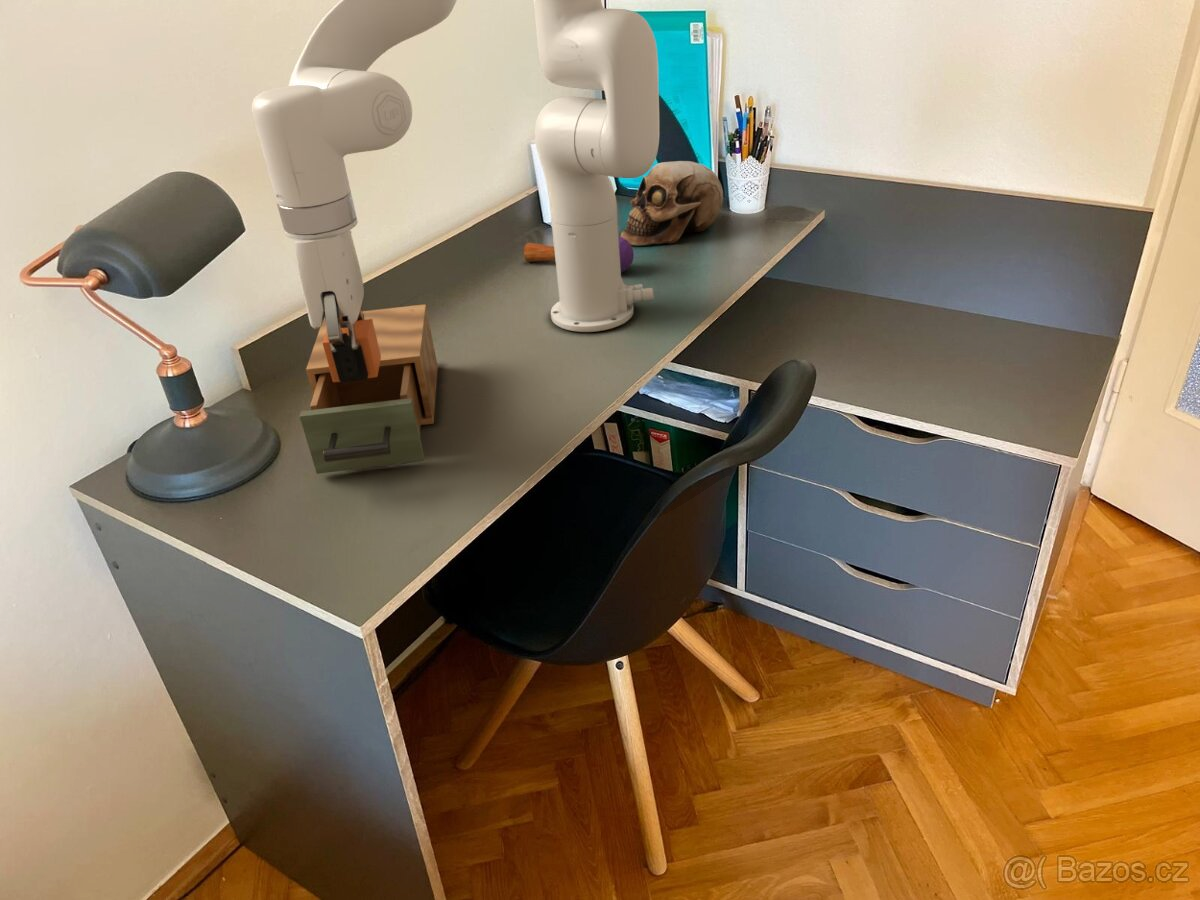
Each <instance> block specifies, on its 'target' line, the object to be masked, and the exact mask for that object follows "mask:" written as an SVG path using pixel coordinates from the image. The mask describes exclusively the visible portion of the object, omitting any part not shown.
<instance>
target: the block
mask: <svg viewBox="0 0 1200 900" xmlns="http://www.w3.org/2000/svg"><path fill="white" fill-rule="evenodd" d="M354 326H355V332H356V337H357V342H358V346H360V345H361V347H362V351H363V355H364V359H365V363H366V367H367V371H368V378H373V377H377V376H378V370H379V365H380V360H381V355H380V350H379V346H378V342H377V337H376V333H375V329H374V325H373V320H372V319H367V320H358V321H356V322H355V323H354ZM341 330H342V332H343V333H347V335H349V331H348V328H341ZM323 347H324V351H325V354H326V358H327V362H328V365H329V369H330V373H331V376H332V380H333V382H340V380H339V377H338V374H337V370H336V366H335V362H334V359H333V355H332V351H331V346H330V342H329V340H328V336H327V331H326V334H325V337H324V340H323Z"/></svg>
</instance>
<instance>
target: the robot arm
mask: <svg viewBox="0 0 1200 900" xmlns="http://www.w3.org/2000/svg"><path fill="white" fill-rule="evenodd" d="M456 3H457V0H339V1H338V2H337V3H336V4H335V5H334V6H333V7H332V8H331V9H330V10H329V11H328V12H327V13H326V14H325V15H324V16H323V18H321V20H320V21H319V22H318V24H317V25H316V26H315V28H314V30H313V31H312V33H311V34H310V35H309V37H308V40H307V42H306V43H305V46H304V47H303V49H302V51H301V53H300V55H299V57H298V60H297V62H296V63H295V65H294V69H293V71H292V72H291V75H290V78H289V82H288V84H287V85H284V86H278V87H274V88H270V89H267V90H264V91H262V92H260V93H259V94H257V95H256V96H255V97H254V98H253V100H252V103H251V115H252V119H253V123H254V126H255V127H254V128H255V130H256V133H257V137H258V141H259V144H260V148H261V151H262V155H263V160H264V162H265V167H266V169H267V174H268V177H269V180H270V181H269V182H270V184H271V188H272V191H273V195H274V198H275V202H276V205H277V209H278V213H279V217H280V220H281V224H282V227H283V231H284V234H285V237H287V238H290V239H292V240H293V247H294V254H295V260H296V261H295V262H296V266H297V272H298V276H299V282H300V285H301V291H302V295H303V299H304V303H305V304H304V305H305V309H306V311H307V316H308V320H309V325H310V327H311V328H312V329H313V330H320V327H321V326H322V323H323V320H324V317H325V321H326V326H327V336H328V340H329V342H330V346H331V351H332V355H333V359H334V362H335V366H336V370H337V374H338V377H339V380H340V381H341V382H349V381H357V380H365V379H367V378H368V371H367V367H366V363H365V359H364V355H363V351H362V347H361V345H360V346H358V342H357V337H356V332H355V326H354V323H355V322H356V321H358V320H365V318H364V314H363V311H364V310H363V307H362V304H363V301H364V295H365V289H364V281H363V276H362V271H361V266H360V262H359V257H358V253H357V250H356V246H355V243H354V239H353V235H352V231H351V230H352V229H353V228H355V227H356V226H357V225H358V223H359V221H358V217H357V212H356V208H355V205H354V200H353V194H352V191H351V187H350V182H349V177H348V173H347V169H346V164H345V160H344V157H345V156H347V155H351V154H352V155H353V154H359V153H365V152H366V153H367V152H373V151H379V150H384V149H386V148H389V147H392V146H393V145H395V144H396V143H399V141H400V140H401V139H402V138H404V136H405V135H406V133H408V131H409V130H410V129H409V128H410V126H411V123H412V119H413V107H412V102H411V99H410V96H409V94H408V92H407V91H406V90H405V88H404V86H402V85H401V84H400V83H399V82H398V81H397V80H396V79H394V78H392V77H390V76H388V75H385V74H383V73H380V72H376V71H368V70H369V68H370V67H371V66H372V65H373V64H374V63H375V62H376V61H377V60H378V59H379V58H380V57H381V56H382V55H383V54H385V53H386V52H388V50H390V49H392V48H393V47H394V46H397V45H399V44H401V43H402V42H405V41H407V40H409V39H411V38H413V37H416V36H418V35H421V34H423V33H425V32H428V30H430V29H432V28H434V27H436V26H438V25H439V24H440V23H442V22H444V20H446V19H447V18H449V16H450V14H451V13H452V11H453V9H454V7H455V5H456ZM533 8H534V9H533V11H534V18H535V21H534V22H535V31H536V32H535V33H536V41H537V50H538V51H537V52H538V57H539V64H540V68H541V71H542V74H543V76H544V77H545V78H546V80H548V81H549V82H550V83H552V84H553V85H556V86H559V87H565V88H571V89H572V88H573V89H580V90H590V91H591V90H592V91H604V97H605V99H602V98H597V97H595V98H594V97H585V96H564V97H563V96H562V97H558V98H554V99H553V100H550V101H549V102H548V103H547V104H545V105H544V106H543V108H541V110H540V112H539V113H538V115H537V118H536V121H535V126H534V141H535V147H536V151H537V155H538V158H539V161H540V164H541V167H542V172H543V173H544V179H545V182H546V188H547V194H548V201H549V210H550V221H551V230H552V240H553V247H554V251H555V269H556V279H557V280H556V281H557V288H558V289H557V290H558V298H559V300H558V301H557V302H556V303H555V304H554V305H553V306H552V307H551V309H550V318H551V321H552V323H553V324H554V325H556V326H557V327H559V328H561V329H563V330H566V331H571V332H577V333H594V332H602V331H607V330H611V329H614V328H617V327H620V326H622V325H624V324H626V323H627V322H628V321H629V320H630V319H631V318H633V315H634V303H637V302H642V303H643V302H644V303H645V302H651V301H652V302H653V301H654V300H655V295H654V289H653V287H646V288H643V287H644V286H643V284H642V283H639V284H633V285H628V284H625V283H624V281H623V278H622V272H621V269H620V253H619V237H620V236H619V224H618V223H619V222H618V205H617V204H618V203H617V197H616V192H615V190H614V187H613V184H612V181H611V180H610V178H609V177H612V178H621V179H637V178H639V177H643V176H645V175H646V174H647V173H649V172H650V170H651V169H652V168H653V165H654V163H655V161H656V159H657V156H658V151H659V145H660V93H659V87H660V86H659V59H658V58H659V57H658V47H657V42H656V38H655V35H654V32H653V30H652V28H651V26H650V24H649V23H648V21H647V20H646V19H645V18H644V17H643V16H642V15H641V14H639V13H638V12H636V11H634V10H630V9H625V8H604V7H603V3H602V0H533ZM341 328H348V331H349V335H347V333H343V332H342V330H341Z"/></svg>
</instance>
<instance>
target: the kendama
mask: <svg viewBox="0 0 1200 900" xmlns="http://www.w3.org/2000/svg"><path fill="white" fill-rule="evenodd" d="M618 237H619V253H620V269H621V273H623V272H625V271H627V270H628V269H629V268H630V266H631V265H632V264H633V261H634V254H635V253H634V249H633V245H630V244H629V242H628V241H627V240H625V239H623V238H622V237H620V236H618ZM523 257H524V259H525V261H526V263H532V262H533V263H534V262H544V261H554V260H555V251H554V245H553V246H552V245H548V244H547V245H546V244H541V243H540V244H539V243H534V242H527V243H525V245H524V248H523ZM555 261H556V260H555Z"/></svg>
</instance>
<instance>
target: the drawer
mask: <svg viewBox="0 0 1200 900" xmlns="http://www.w3.org/2000/svg"><path fill="white" fill-rule="evenodd" d="M422 406H423V401H422V397H421V392H420V387H419V382H418V377H417V373H416V368H415V362H414V363H406V364H397V365H389V366H380V367H379V370H378V376H377V377H373V378H367V379H365V380H357V381H349V382H341V381H340V382H333V380H332V376H331V373H330V372H329V373H321V374H320V376H319V379H318V382H317V386H316V389H315V392H314V395H313V394H312V398H311V402H310V406H309V408H310V410H309V409H308V410H302V411H301V412H300V414H299V420H300V423H301V426H302V429H303V432H304V436H305V439H306V442H307V446H308V449H309V453H310V456H311V460H312V463H313V466H314V469H315V473H316V474H318V475H319V474H327V473H334V472H343V471H350V470H358V469H365V468H368V469H369V468H375V467H383V466H390V465H398V464H407V463H416V462H422V461H425V452H424V449H423V448H424V447H423V443H422V439H421V438H422V437H421V426H422V425H421V416H422Z"/></svg>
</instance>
